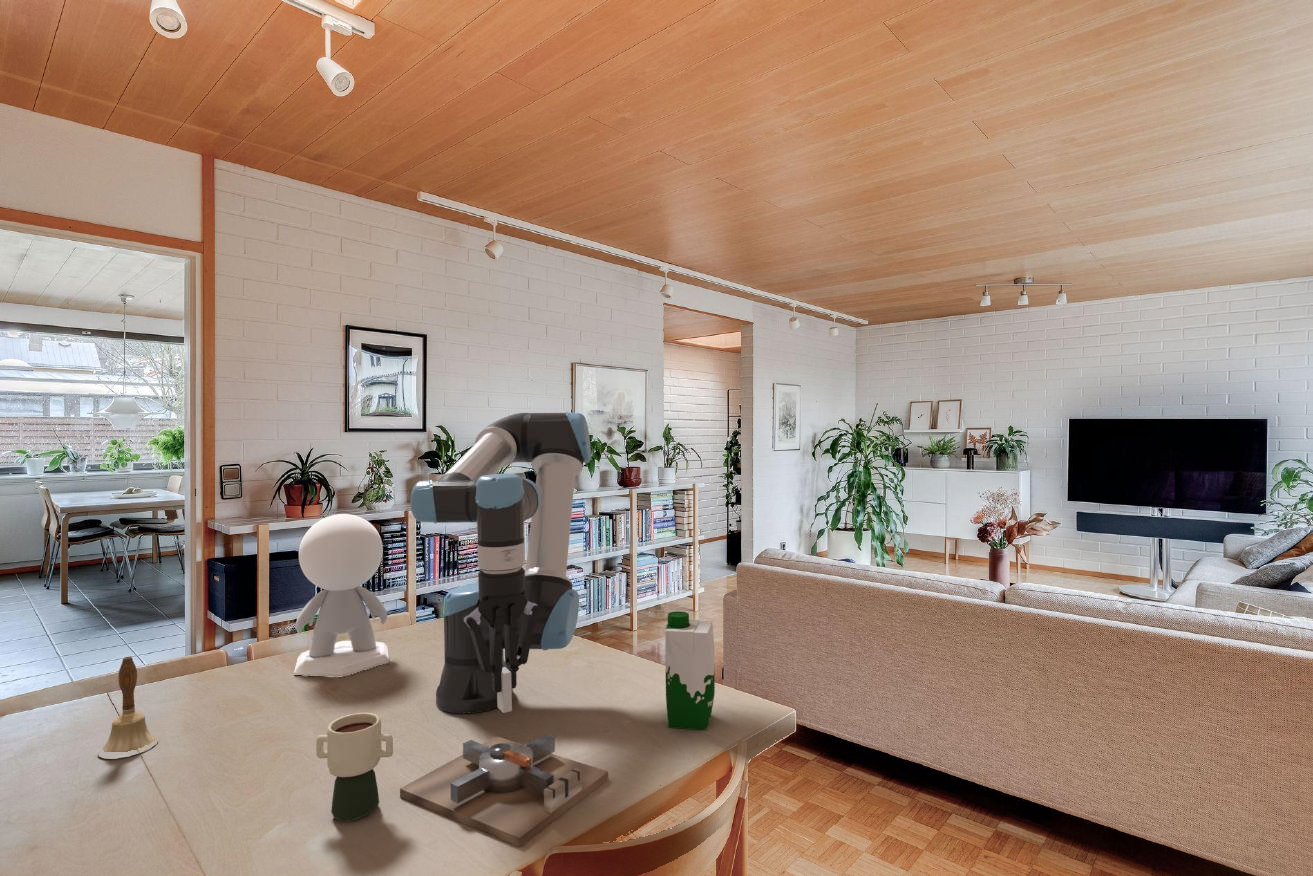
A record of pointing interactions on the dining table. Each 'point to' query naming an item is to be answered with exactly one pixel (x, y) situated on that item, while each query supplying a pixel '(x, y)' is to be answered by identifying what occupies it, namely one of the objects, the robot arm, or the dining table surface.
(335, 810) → the character mug
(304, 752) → the dining table surface
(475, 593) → the robot arm
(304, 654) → the big headed doll
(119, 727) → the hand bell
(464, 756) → the four-spoke handwheel
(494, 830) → the wooden mounting board
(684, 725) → the milk carton
